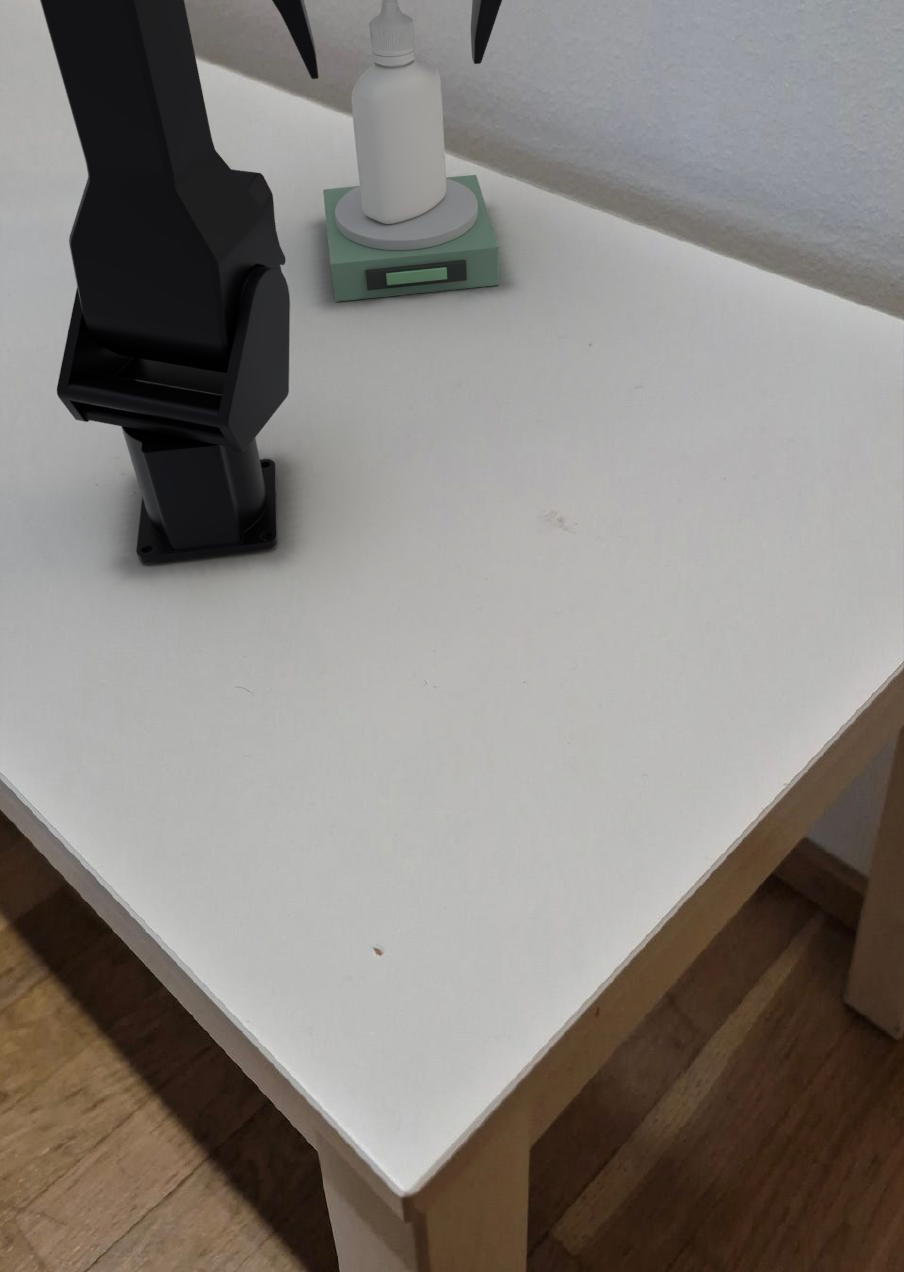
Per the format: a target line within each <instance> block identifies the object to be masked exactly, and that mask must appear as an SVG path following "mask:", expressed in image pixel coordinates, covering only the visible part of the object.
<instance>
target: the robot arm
mask: <svg viewBox="0 0 904 1272" xmlns="http://www.w3.org/2000/svg"><path fill="white" fill-rule="evenodd" d="M39 1H40V5H41V9H42V12H43V16H44V20H45V23H46V27H47V31H48V33H49V37H50V40H51V44H52V48H53V51H54V55H55V58H56V63H57V65H58V69H59V72H60V76H61V79H62V83H63V86H64V90H65V93H66V98H67V101H68V103H69V108H70V110H71V111H70V112H71V114H72V118H73V122H74V125H75V129H76V132H77V136H78V139H79V143H80V147H81V150H82V154H83V158H84V161H85V165H86V170H87V180H86V183H85V186H84V190H83V193H82V195H81V199H80V202H79V206H78V208H77V212H76V215H75V217H74V221H73V224H72V227H71V230H70V234H69V238H68V245H69V250H70V255H71V261H72V267H73V271H74V272H73V273H74V276H75V277H74V278H75V282H76V290H75V296H74V300H73V306H72V311H71V316H70V320H69V324H68V330H67V336H66V341H65V345H64V350H63V356H62V361H61V365H60V370H59V375H58V381H57V385H56V395H57V397H58V398H59V400H60V401H61V403H62V404H63V405H64V406H65V408H66V409H67V410H68V411H69V413H70V414H71V416H73V418H74V420H76V421H80V422H84V423H88V422H90V421H91V422H97V423H101V424H106V425H112V426H117V427H120V428H121V430H122V434H123V437H124V440H125V441H124V442H125V444H126V447H127V450H128V453H129V457H130V460H131V463H132V467H133V470H134V474H135V477H136V480H137V483H138V487H139V490H140V493H141V504H140V514H139V523H138V532H137V541H136V542H137V543H136V555H137V558H138V560H139V562H140V563H143V564H152V563H161V562H172V561H179V560H187V559H189V560H190V559H196V558H206V557H215V556H223V555H232V554H233V555H234V554H242V553H249V552H250V553H251V552H259V551H268V550H271V549H273V548H275V547H276V546H277V545H278V542H279V537H278V536H279V533H278V492H277V490H278V489H277V487H278V485H277V468H276V467H277V466H276V463H275V461H274V460H273V459H271V458H262V459H260V455H259V450H258V445H257V440H256V437H258V435H259V434H260V433H261V431H262V430H263V428H264V427H265V426H266V425H267V423H268V422H269V421H270V419H271V418H272V417H273V416H274V414H275V413H276V412H277V411H278V410H279V408H280V407H281V405H282V404H284V401H285V400H286V399H287V398H288V396H289V392H290V336H291V335H290V331H291V330H290V329H291V327H290V325H291V321H290V319H291V299H290V290H289V284H288V281H287V279H286V277H285V275H284V273H283V270H282V268H281V266H284V265H285V264H286V260H287V259H286V256H285V254H284V251H283V249H282V247H281V244H280V242H279V241H280V240H279V236H278V232H277V225H276V218H275V217H276V216H275V205H274V204H275V203H274V195H273V192H272V189H271V187H270V186H269V184H268V182H267V179H266V178H265V176H264V175H263V174H262V173H261V172H258V171H257V172H256V171H248V170H247V171H246V170H240V169H239V170H238V169H231V168H230V166H229V165H228V163H227V162H225V160H224V159H223V158H222V156H221V155H220V154H219V153H218V152H217V150H216V147H215V144H214V140H213V136H212V137H211V135H212V131H211V132H210V130H211V126H210V127H209V125H210V121H209V122H208V120H209V116H208V117H207V115H208V112H207V113H206V110H207V107H206V108H205V106H206V102H205V98H204V94H203V87H202V83H201V79H200V74H199V67H198V64H197V63H198V62H197V58H196V54H195V48H194V44H193V39H192V34H191V29H190V23H189V18H188V13H187V8H186V4H185V0H39ZM271 1H272V3H273V5H274V6H275V8H276V9H277V11H278V13H279V14H280V16H281V18H282V20H283V22H284V24H285V26H286V28H287V29H288V32H289V34H290V36H291V39H292V40H293V43H294V46H295V48H296V50H297V52H298V53H299V55H300V58H301V59H302V60H301V61H302V62H303V64H304V66H305V67H306V70H307V73H308V75H309V77H310V78H311V79H312V80H318V79H319V68H318V61H317V52H316V44H315V40H314V36H313V31H312V28H311V24H310V23H311V22H310V19H309V16H308V11H307V8H306V3H305V0H271ZM502 2H503V0H472V2H471V17H470V45H471V46H470V47H471V60H472V62H473V64H474V65H480V64H482V62H483V59H484V57H485V52H486V49H487V47H488V44H489V41H490V37H491V34H492V32H493V29H494V25H495V24H496V20H497V16H498V14H499V11H500V7H501V6H502ZM204 102H205V103H204ZM212 140H213V141H212Z"/></svg>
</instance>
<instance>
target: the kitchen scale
mask: <svg viewBox="0 0 904 1272" xmlns="http://www.w3.org/2000/svg"><path fill="white" fill-rule="evenodd" d="M323 203H324V213H325V223H326V233H327V243H328V245H327V246H328V255H329V264H330V273H331V279H332V280H331V282H332V288H333V295H334V296H333V297H334V302H336V303H337V302H347V301H348V302H349V301H356V300H366V299H376V298H377V299H378V298H386V297H397V296H405V295H415V294H416V295H417V294H425V293H426V294H427V293H435V292H444V291H445V292H446V291H455V290H463V289H464V290H465V289H473V288H474V289H475V288H485V287H495V286H500V250H499V249H500V247H499V244H498V241H497V237H496V235H495V230H494V228H493V225H492V222H491V218H490V214H489V211H488V208H487V205H486V202H485V198H484V196H483V193H482V189H481V186H480V182H479V180H478V176H477V174H469V175H458V176H457V175H456V176H446V194H445V196H444V197H443V199H442V200H441V201H440V202H439V203H438V204H437V205H436V206H435V207H433V208H432V209H430V210H429V211H427V212H425V213H423V214H421V215H419V216H417V217H414V218H412V219H409V220H406V221H402V222H398V223H394V224H384V223H381V222H378V221H376V220H374V219H371V218H369V217H367V216H366V215H365V214H364V213H363V210H362V202H361V193H360V185H354V186H343V187H333V188H325V189H323Z"/></svg>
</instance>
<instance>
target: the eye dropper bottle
mask: <svg viewBox="0 0 904 1272" xmlns="http://www.w3.org/2000/svg"><path fill="white" fill-rule="evenodd" d="M368 26H369V35H370V47H371V57H372V58H371V60H372V61H373V63H372V64H371V65H370V66H369V67H368V68H367V69H366V70H365V71H364V72H363V73H362V74H361V76H360V77H358V79H357V81H356V82H355V84H354V86H353V89H352V91H351V112H352V124H353V133H354V143H355V152H356V153H355V154H356V164H357V172H358V174H357V175H358V182H359V183H358V184H359V186H360V193H361V202H362V210H363V213H364V214H365V215H366V216H367V217H369V218H371V219H374V220H376V221H378V222H381V223H384V224H394V223H398V222H402V221H406V220H409V219H412V218H414V217H417V216H419V215H421V214H423V213H425V212H427V211H429V210H430V209H432V208H433V207H435V206H436V205H437V204H438V203H439V202H440V201H441V200H442V199H443V197H444V196H445V194H446V177H447V174H446V173H447V172H446V153H445V133H444V132H445V131H444V117H443V116H444V115H443V113H444V112H443V95H442V83H441V82H442V81H441V76H440V75H441V74H440V72H439V70H438V68H437V67H436V65H434V64H433V63H432V62H429V61H428V60H426V59H422V58H418V57H416V44H415V43H416V41H415V27H414V19H413V18H412V17H411V16H410V15H408V14H405V13H403V12H402V11H401V8H400V4H399V2H398V0H381V8H380V12H379V14H378V15H376V16H374V17H372V18H371V20H369V24H368Z"/></svg>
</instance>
